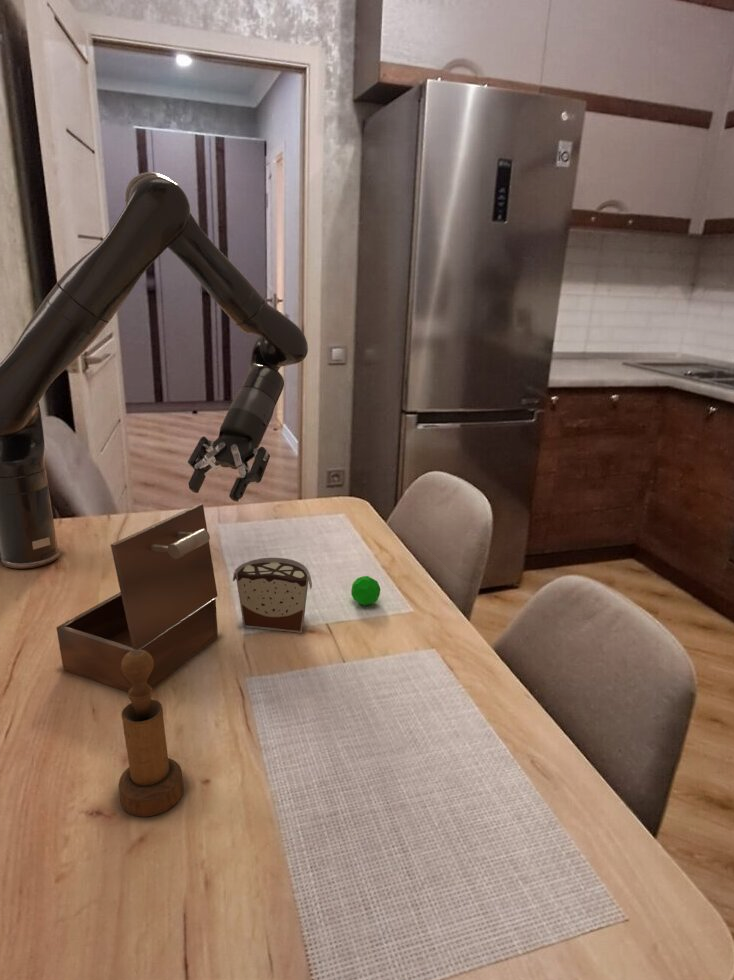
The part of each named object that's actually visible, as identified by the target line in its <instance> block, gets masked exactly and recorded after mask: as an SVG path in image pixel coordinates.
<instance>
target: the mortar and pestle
mask: <svg viewBox="0 0 734 980" xmlns="http://www.w3.org/2000/svg"><path fill="white" fill-rule="evenodd" d="M153 666H154V661H153V658H152V656H151V655H150V654H149V653H148V652H147V651H145V650H133V651H130V652H128V653H127V654H126V655H125V656H124V658H123V660H122V663H121V669H122V672H123V674H124V676H125V677H126V678H127V679H128V680H129V681H130V682H131V683H132V688H131V689H130V690H129V692H127V695H128V698H129V701H130V703H129V704H127V705H126V706H125V707H124V708H123V709H122V711H121V721H122V729H123V733H124V734H123V735H124V741H125V747H126V753H127V760H128V767H127V768H126V769H125V770H124V771H123V772H122V774H121V776H120V778H119V781H118V793H119V799H120V805H121V806H122V808H123V809H124V811H125V812H126V813H128V814H130V815H132V816H135V817H153V816H156V815H157V816H158V815H159V814H163V813H164V812H166V811H168V810H169V809H171V808H172V807H174V806H175V805H176V804H178V802H179V801H180V800H181V798H182V796H183V793H184V789H185V788H184V787H185V786H184V785H185V784H184V778H183V770H182V767H181V765H180V764H179V763H178V761H176V760H174V759H172V758H170V757H169V754H168V745H167V738H166V737H167V736H166V728H165V719H164V718H165V717H164V709H163V704H162V702H161V701H158V700H156V699H153V698H152V696H153V687H152V688H151V686H149V685H148V684H147V679H148V677H149V676H150V674H151V672H152V670H153Z"/></svg>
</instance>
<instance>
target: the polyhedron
mask: <svg viewBox="0 0 734 980" xmlns="http://www.w3.org/2000/svg"><path fill="white" fill-rule="evenodd" d="M350 592H351V593H350V594H351V596H352V599H353V601H355V602H357V603H359V604H360V605H362V606H368V605H372V604H375V603H376V602H377V601H378V599H379V598H380V596H381V586H380V584H379V582H378V581H377V580H376V579H374V578H373V577H370V576H369V575H364V576H360V577H358V578H356V579H355V580H354V581H353V582H352V584H351V590H350Z"/></svg>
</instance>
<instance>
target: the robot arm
mask: <svg viewBox="0 0 734 980" xmlns="http://www.w3.org/2000/svg"><path fill="white" fill-rule="evenodd" d="M124 204H125V206H124V207H123V210H122V211H121V213H119V216H118V218H117V219H116V221H115V222H114V223H113V225H112V226H111V228H110V230H109V231H108V233H107V234H106V235H105V237H104V238H103V239H102V240H101V241H100V242H99V243H98V244H97V245H96V246H95V247H94V248H92V249H91V250H89V252H87V253H86V254H85V255H83V256H82V257H81V258H80V259H79V260H78V261H77V262H75V263H74V264H73V265H72V266H71V267H70V268H69V269H68V270H67V271H66V272H65V273H64V274H63V275H62V276H60V278H59V279H58V281H57V282H56V283H55V285H54V286H53V288H52V289H50V292H48V294H47V295H46V297H44V299H43V300H42V302H41V303H40V305H39V307H38V308H37V309H36V311H35V312H34V314H33V316H32V317H31V319H30V320H29V321H28V323H27V325H26V326H25V328H24V329H23V331H22V333H21V334H20V336H19V337H18V339H17V341H16V343H15V344H14V346H13V348H12V349H11V350H10V351H9V352H8V353H7V355H6V356H5V358H4V359H3V360H2V361H1V362H0V561H1V563H2V565H3V566H5V567H7V568H11V569H16V570H17V569H19V570H20V569H21V570H23V569H25V570H26V569H33V568H34V569H35V568H39V567H43V566H46V565H49V564H51V563H53V562H55V561H56V560H58V558H59V557H60V549H59V546H58V540H57V533H56V528H55V527H56V526H55V521H54V514H53V509H52V508H53V507H52V501H51V493H50V489H49V488H50V487H49V482H48V477H47V470H46V469H47V468H46V463H45V452H46V451H45V450H46V443H45V437H44V436H45V435H44V426H43V418H42V411H41V406H40V401H41V399H42V397H43V396H44V395H45V393H46V392H47V390H48V389H49V388H50V386H51V385H52V383H53V382H54V381H55V380H56V379H57V378H58V377H59V376H60V375H61V374H62V373H63V372H64V371H65V370H66V369H68V367H70V366H71V365H72V364H73V363H74V362H75V361H76V360H77V359H78V358H79V357H81V355H82V354H83V353H85V351H86V350H87V349H88V348H89V347H90V346H91V345H92V344H93V343H94V342H95V341H96V340H97V338H98V337H99V335H100V334H101V333H102V332H103V331H104V329H105V328H106V327H107V325H108V324H109V323H110V322H111V320H112V319H113V318H114V316H115V315H116V314H117V312H118V311H119V309H120V308H121V306H122V305H123V303H124V302H125V301H126V300H127V298H128V296H129V295H130V294H131V292H132V290H133V289H134V288H135V286H136V285H137V283H138V281H139V280H140V278H142V276H143V275H144V273H145V272H146V271H147V270H148V268H149V267H150V266H151V265H152V264H153V263H154V262H155V261H157V259H158V258H159V257H160V256H161V255H162V254H163V253H164V252H165V251H166V250H167V249H168V250H170V252H171V253H173V254H174V255H175V256H176V257H177V259H178V260H180V261H181V262H182V263H183V265H184V266H185V267H186V268H187V269H188V270H189V271H190V272H191V273H192V275H193V276H194V277H195V279H196V280H197V281H198V282H199V283H200V284H201V286H202V287H203V288H204V290H205V291H206V292H207V293H208V295H209V296H210V297H211V299H212V300H213V301H214V302H215V303H216V304H217V305H218V306H219V308H220V309H221V310H222V311H223V312H224V313H225V314H226V315H227V317H228V318H229V319H230V320H231V321H232V322H233V323H234V325H236V327H238V329H240V330H241V332H243V333H245V334H249V335H257V336H258V337H257V339H256V340H255V341H254V343H253V346H252V350H251V355H250V360H249V365H248V373H247V374H246V376H245V378H244V381H243V383H242V385H241V387H240V389H239V391H238V392H237V394H236V395H235V397H234V399H233V400H232V402H231V404H230V407H229V408H228V411H227V413H226V415H225V417H224V419H223V421H222V424H221V425H220V428H219V434H218V436H217V438H216V439H215V440H210V439H208V438H207V437H206V436H202V437H200V438H199V440H198V442H197V444H196V445H195V448H194V450H193V451H192V453H191V454H190V457H189V458H188V460H187V464H188V465H189V466H190V467H191V468H192V469H193V470H194V471H193V473H192V474H191V477H190V479H189V481H188V489H189V490H190V491H191V492H192V493H194V494H198V493H200V491H201V488H202V486H203V483H204V482H205V479H206V477H207V476H206V475H208V474H209V473H210V472H212V471H214V470H215V471H216V470H218V469H219V468H221V467H222V468H230V469H232V470H237V473H238V475H239V477H236V479H235V480H234V483H233V485H232V488H231V489H230V492H229V495H228V496H229V499H231V500H232V501H233V502H237V503H238V502H239V501H240V500H241V499H242V498H243V497H244V495H245V492H246V489H247V488H248V485H250V484H251V483H256V484H259V483H261V481H262V480H263V477H264V475H265V471H266V469H267V466H268V463H269V461H270V458H271V455H270V453H269V452H268V450H267V449H266V448H265V447H264V446H261V447H260V445H261V443H262V440H263V439H264V437H265V434H266V431H267V430H268V427H269V424H270V423H271V420H272V418H273V415H274V411H275V408H276V407H277V404H278V401H279V399H280V397H281V395H282V392H283V390H284V387H285V380H284V377H283V375H282V374H281V373H280V372H279V370H280V369H281V368H282V367H287V366H292V365H296V364H299V363H301V362H302V361H304V360H305V359H306V357H307V355H308V351H309V346H308V345H309V344H308V341H307V338H306V336H305V334H304V332H303V331H302V330H301V328H300V327H299V326H298V325H297V324H296V323H295V322H294V321H293V320H291V319H289V318H288V317H287V316H285V315H284V314H283V313H282V312H281V311H279V310H277V308H274V306H272V305H270V303H268V302H267V300H266V299H265V298H264V297H263V296H262V294H261V293H260V292H259V291H258V289H256V287H255V286H254V285H253V284H252V283H251V282H250V280H249V279H248V278H247V277H246V276H245V274H244V273H242V272H241V270H240V269H238V268H237V266H236V265H235V264H234V263H233V262H232V261H231V260H230V259H229V258H227V256H226V255H225V254H224V253H223V252H222V251H221V250H220V249H219V248H218V246H216V245H215V243H214V242H213V241H212V240H211V239H210V238H209V237H208V235H207V233H205V232H204V230H203V229H202V227H201V226H200V225H199V224H198V222H197V220H196V219H195V217H194V216H193V214H192V213H191V205H190V201H189V199H188V196H187V194H186V192H185V191H184V190H183V188H182V187H181V186H180V185H178V183H176V182H174V181H173V180H172V179H171V178H170V177H168V176H166V175H164V174H162V173H159V172H158V173H157V172H151V171H147V172H141V173H139V174H137V175H135V176H134V177H132V178H131V180H130V181H129V182H128V184H127V186H126V189H125V193H124ZM253 458H254V460H253ZM213 459H214V460H215V461H214V460H213ZM251 460H253V462H252V465H251V468H250V466H249V462H250V461H251Z"/></svg>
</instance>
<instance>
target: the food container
mask: <svg viewBox="0 0 734 980" xmlns="http://www.w3.org/2000/svg"><path fill="white" fill-rule="evenodd" d="M235 580H236V586H237V593H238V599H239V605H240V606H239V607H240V612H241V618H242V624H243V628H250V629H260V630H268V631H269V630H270V631H280V632H289V633H290V632H291V633H299V634H302V633H303V629H304V622H305V614H306V605H307V597H308V589H312V588H313V581H312V576H311V574H310V572H309V568H308V567H307V566H306V565H304V564H303V563H301V562H299V561H297V560H294V559H290V558H285V557H261V558H256V559H252V560H249V561H246V562H243V563H241V564H240V565H239V566H237V567H236V568H235V570H234V572H233V576H232V582H235ZM308 587H309V588H308Z"/></svg>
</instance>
